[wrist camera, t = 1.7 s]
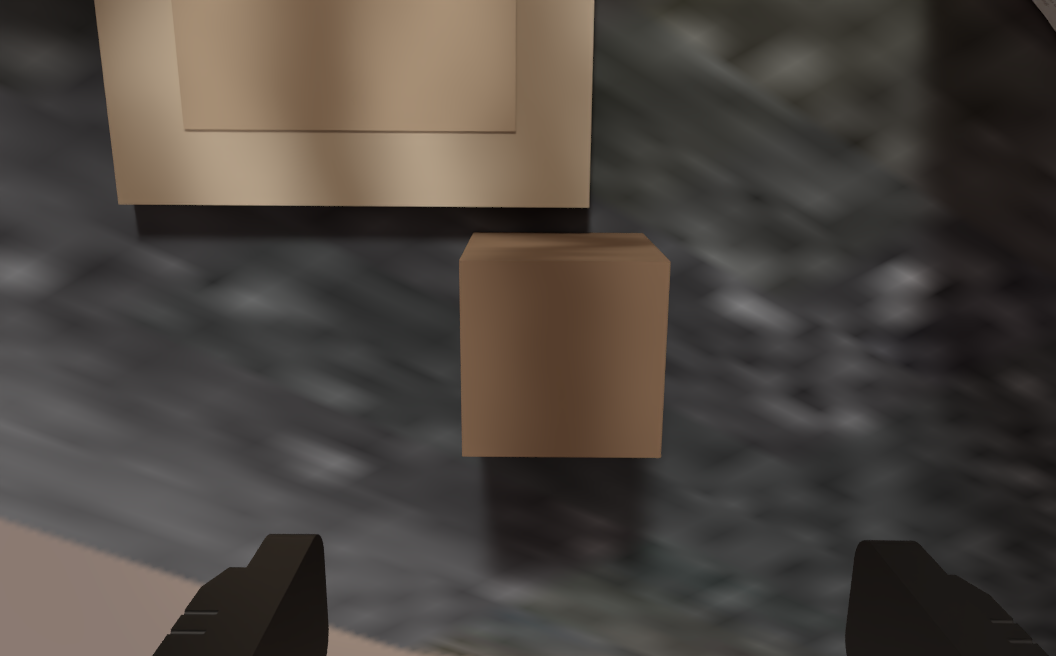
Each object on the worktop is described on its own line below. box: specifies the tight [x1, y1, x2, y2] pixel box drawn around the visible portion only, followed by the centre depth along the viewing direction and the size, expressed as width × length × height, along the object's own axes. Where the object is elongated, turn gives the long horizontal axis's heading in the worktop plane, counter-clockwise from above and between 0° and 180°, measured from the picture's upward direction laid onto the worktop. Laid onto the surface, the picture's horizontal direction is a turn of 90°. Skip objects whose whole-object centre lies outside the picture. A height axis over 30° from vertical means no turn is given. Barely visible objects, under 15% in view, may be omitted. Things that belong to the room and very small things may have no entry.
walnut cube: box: [459, 232, 670, 458], centre depth 27 cm, size 6×6×6 cm
